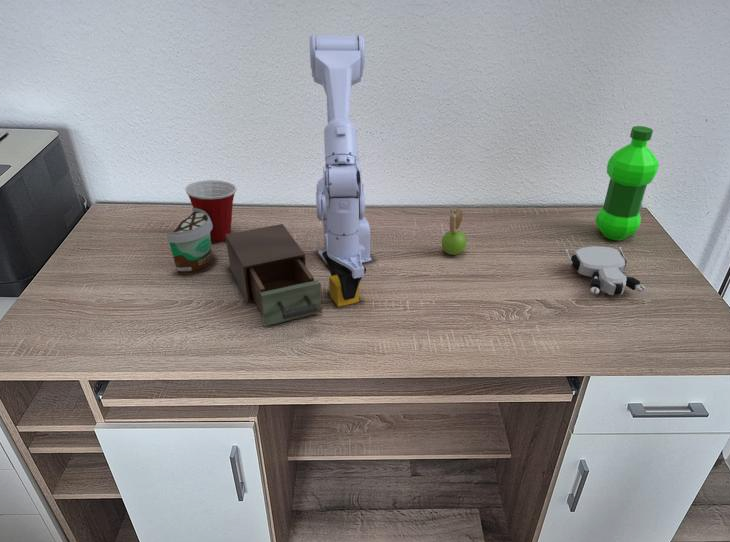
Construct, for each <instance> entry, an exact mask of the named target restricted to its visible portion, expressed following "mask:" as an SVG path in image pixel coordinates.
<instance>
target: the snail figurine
mask: <svg viewBox="0 0 730 542" xmlns="http://www.w3.org/2000/svg"><path fill="white" fill-rule="evenodd" d="M449 211H450V214H449V230H448V231H446V232H445V233H444V235H443V236H442V237H441V242H440V243H441V248H442V250H443V252H445V253H446V254H448V255H451V256H456V255H459V254H461V253H463V252H464V251H465V249H466V247H467V243H468V241H467V238H466V235H465V234H464V233H463V232H462V231H460V227H461V224H462V221H463V211H462V209H461V208H456V209H453V208H450V210H449Z"/></svg>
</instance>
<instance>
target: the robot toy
mask: <svg viewBox="0 0 730 542" xmlns="http://www.w3.org/2000/svg"><path fill="white" fill-rule="evenodd" d="M565 253H566V256H567V258H568V261H569V265H570V266H571V267H572V268H573V269H574V270H575V271H577V273H578V274H579V275H582V276H585V277H589V278H591V279H592V280H591V281H590V284H589V292H590V294H595V295H598V294H599V293H600V291H601V292H602V293H605V294H607V295H609V296H610V295H611V296H614V295H616V296H619V295H621V296H622V295H623V294H624V293H625V289H626V287H627V288H629V289H630V290H632V291H636V292H639V293H641V292H644V291H645V290H646V287H645V286H644V285H643V284H641V281H640V280H638V279H637V278H636V277H633V276H626V275H625V272H624V269H625V268H626V266H627V261H628V259H627V258H626V257H625V255H624V252H623V250H622V247H621V246H618V249H616V248H613V247H608V246H597V245H595V246H594V245H593V246H586V247H581V248H579V249H575V251H573V254H572V255H571V256H570V254H569V250H568V249H567V248H566V249H565Z"/></svg>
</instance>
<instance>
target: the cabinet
mask: <svg viewBox="0 0 730 542" xmlns="http://www.w3.org/2000/svg"><path fill="white" fill-rule="evenodd" d="M225 236H226V241H225V242H226V247H227V248H226V250H227V257H228V263H229V270H230V271H231V273H232V275H233V277H234V279H235V280H236V283H237V285H238V286H239V288H240V290H241V292H242V294H243V296H244V298H245V300H246V302H247V303H248V304H249V303H253V302H255V301H254V299H253V297H252V295H251V293H250V292H249V286H248V277H247V268H252V267H256V266H261V265H266V264H271V263H276V262H281V261H286V260H291V259H296V258H300V259H301V261H302V262H303V263H304V265H305V266H306V267H307V262H306V261H307V259H306V253H305V252H304V250H302V248H301V247H300V246H299V244H298V243H297V241H296V240H295V238H294V237H293V235H291V233H290V231H288V229H287V228H286V226H285V225H284V224H283V223H280V224H274V225H269V226H268V225H267V226H264V227H258V228H252V229H247V230H242V231H235V232H231V233H230V234H225Z"/></svg>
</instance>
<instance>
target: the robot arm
mask: <svg viewBox="0 0 730 542" xmlns="http://www.w3.org/2000/svg"><path fill="white" fill-rule="evenodd" d="M365 49H366V48H365V37H363V36H362V34H361V33H358V34H315V33H312V34H311V35H310V36H309V63H310V69H311V77H312V78H313V82H314V83H316V84H318V85H320V86H322V87H323V90H324V93H325V96H326V111H327V113H326V114H327V115H326V116H327V125H325V127H324V129H323V138H324V139H323V140H324V142H323V143H324V167H323V169H322V177H321V178H320V179H319V180H318V181H317V183H316V187H315V188H316V191H315V203H316V204H315V206H316V219H318V220H319V221H320V222H322V226H323V246H324V247H323V248H324V249H320V250H318V251H317V253H318V256H319V257H320V258H321V259H322V260H323V261H324V263H325V264H326V265H327V267H328V270H329V273H330V276H334V275H337V276H338V278H339V281H340V284H341V290H342V295H343V298H344V300H348V299H353V298H355V295H356V291H357V288H358V285H359V286H360V283H361V280H362V278H363V277H365V274H366V272H367V268H366V266H365V265H364V264H363V263H368V262H372V260H373V258H372V257H371V228H370V223H369V221H368V219H367V218H366V217H365V216H366V198H365V196H366V195H365V187H364V185H365V184H364V183H363V180H362V179H363V178H362V177H363V175H362V168H361V162H360V157H359V150H358V148H359V147H358V130H357V127H356V125H354V123H353V122H351V120H350V117H351V116H350V111H351V92H352V90H351V89H352V87H353V86H354V85H356V84H358V83H361V82H362V78H363V75H364V69H365V64H366V63H365V61H366V60H365V58H366V56H365V55H366V53H365V52H366V51H365Z"/></svg>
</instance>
